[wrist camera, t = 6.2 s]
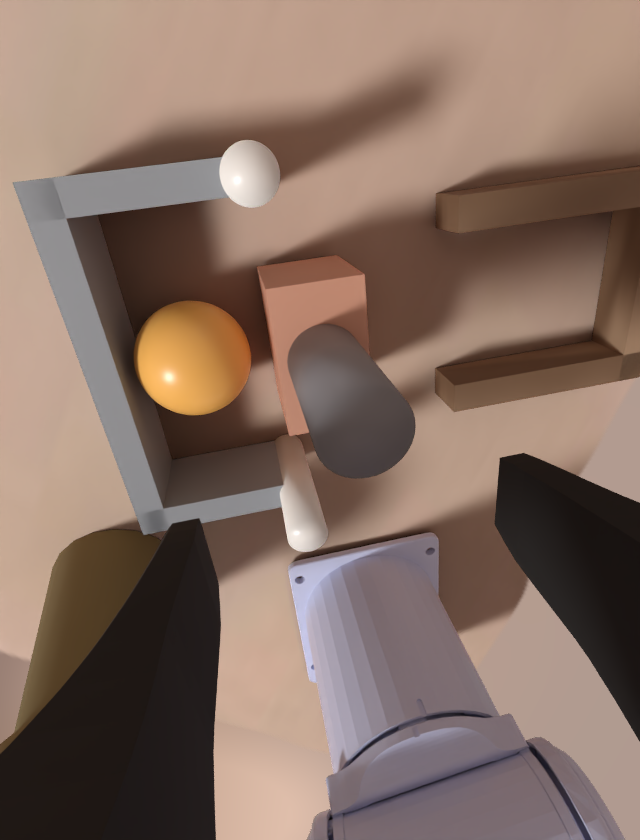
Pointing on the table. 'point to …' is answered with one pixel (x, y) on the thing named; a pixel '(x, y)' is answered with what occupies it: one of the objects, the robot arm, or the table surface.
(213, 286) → the table surface
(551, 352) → the rail frame
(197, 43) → the table surface
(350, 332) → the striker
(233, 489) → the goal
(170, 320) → the ball
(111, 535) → the olive green tapered cylinder
